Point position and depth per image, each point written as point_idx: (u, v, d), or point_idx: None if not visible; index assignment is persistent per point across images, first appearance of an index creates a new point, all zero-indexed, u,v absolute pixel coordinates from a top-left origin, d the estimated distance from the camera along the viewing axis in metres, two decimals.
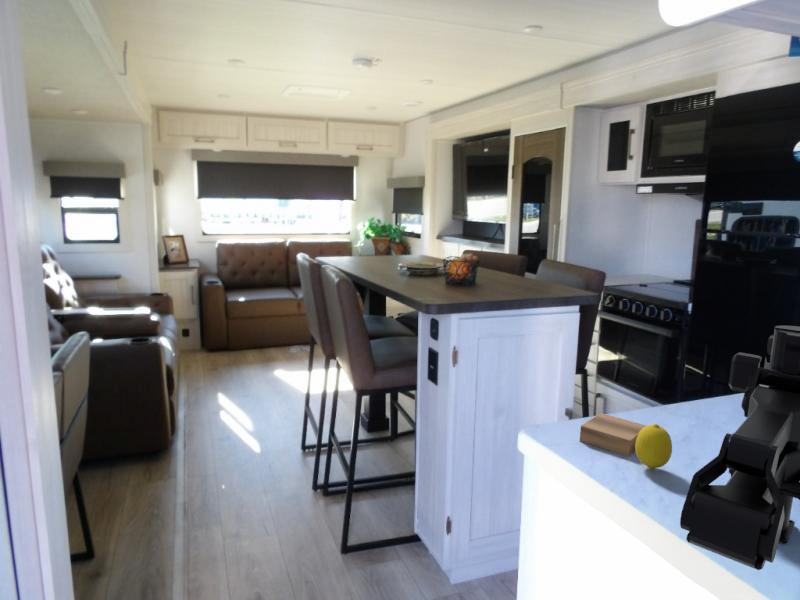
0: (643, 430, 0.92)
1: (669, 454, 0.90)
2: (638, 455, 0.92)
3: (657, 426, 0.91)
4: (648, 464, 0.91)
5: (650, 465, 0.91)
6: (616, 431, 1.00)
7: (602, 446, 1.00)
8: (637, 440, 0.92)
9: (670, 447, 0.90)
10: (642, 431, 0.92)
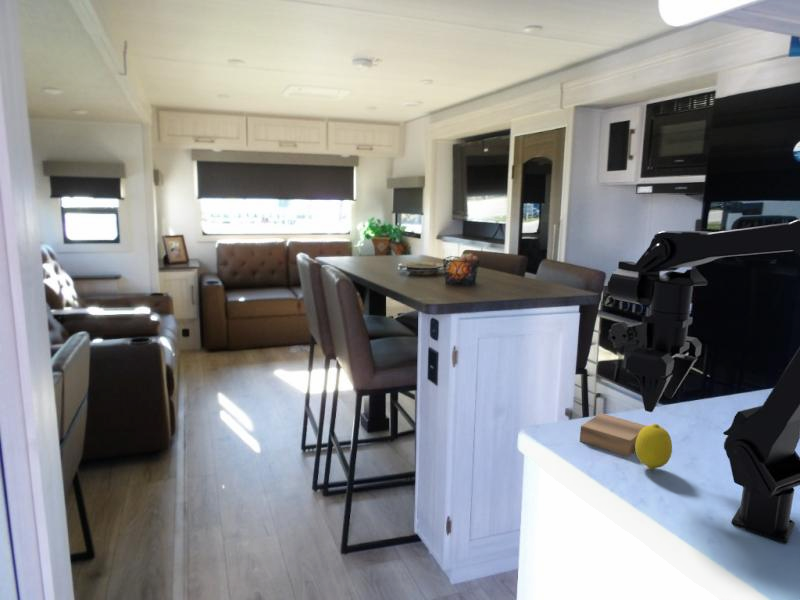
0: (643, 430, 0.92)
1: (669, 454, 0.90)
2: (638, 455, 0.92)
3: (657, 426, 0.91)
4: (648, 464, 0.91)
5: (650, 465, 0.91)
6: (616, 431, 1.00)
7: (602, 446, 1.00)
8: (637, 440, 0.92)
9: (670, 447, 0.90)
10: (642, 431, 0.92)
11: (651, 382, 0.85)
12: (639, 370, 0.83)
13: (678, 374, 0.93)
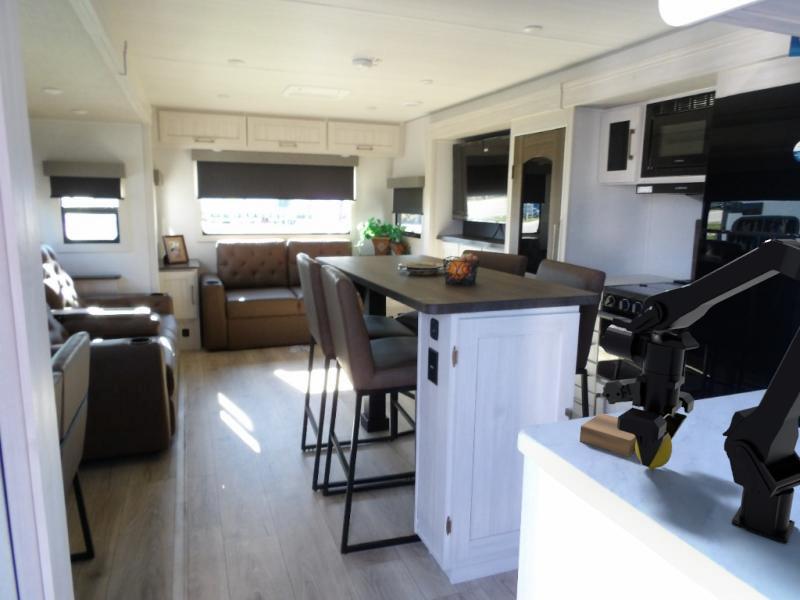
0: None
1: (669, 454, 0.90)
2: (638, 455, 0.92)
3: None
4: None
5: (650, 465, 0.91)
6: (616, 431, 1.00)
7: (602, 446, 1.00)
8: None
9: (670, 447, 0.90)
10: None
11: (648, 439, 0.88)
12: (632, 432, 0.85)
13: (668, 433, 0.93)
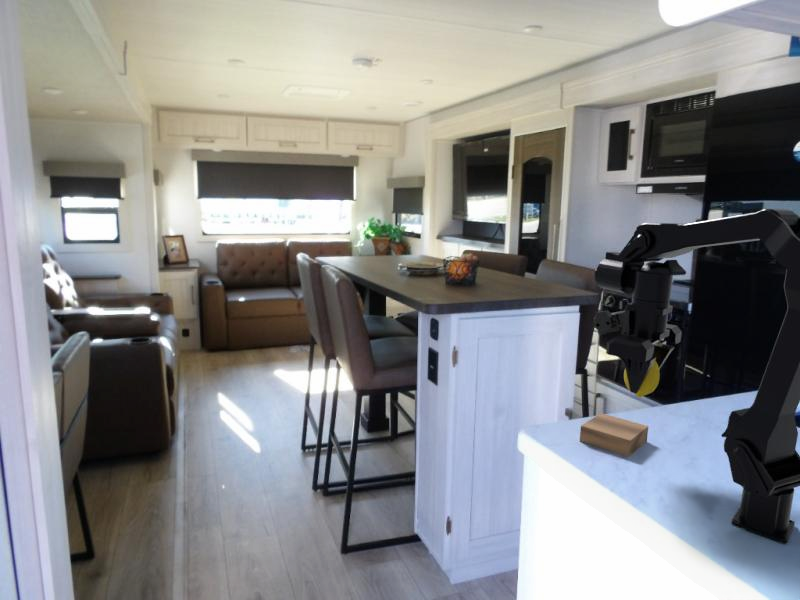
0: None
1: (656, 381, 0.93)
2: (626, 383, 0.95)
3: None
4: None
5: (638, 392, 0.93)
6: (616, 431, 1.00)
7: (602, 446, 1.00)
8: None
9: (657, 374, 0.93)
10: None
11: (636, 365, 0.91)
12: (621, 355, 0.87)
13: None
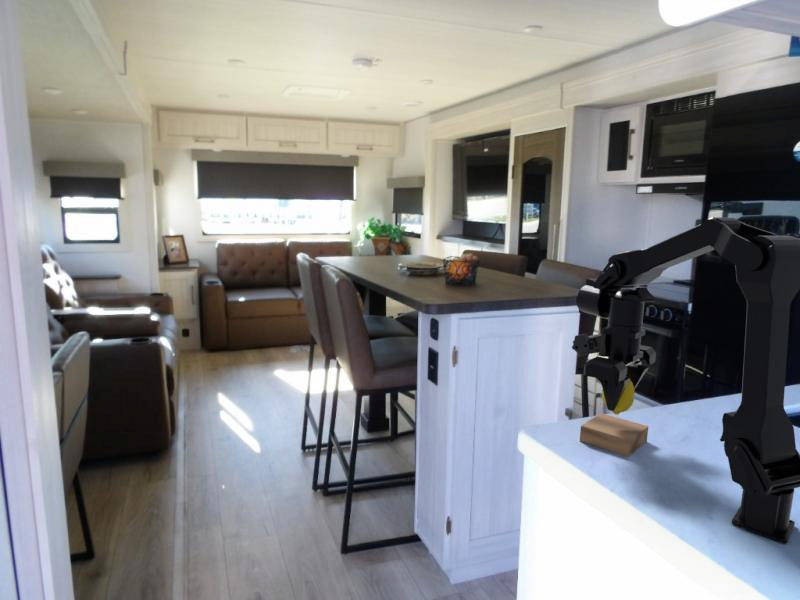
0: None
1: (631, 399, 1.00)
2: (604, 401, 1.02)
3: None
4: None
5: (615, 409, 1.00)
6: (616, 431, 1.00)
7: (602, 446, 1.00)
8: None
9: (632, 393, 1.00)
10: None
11: (612, 385, 0.98)
12: (596, 376, 0.94)
13: (632, 382, 1.03)
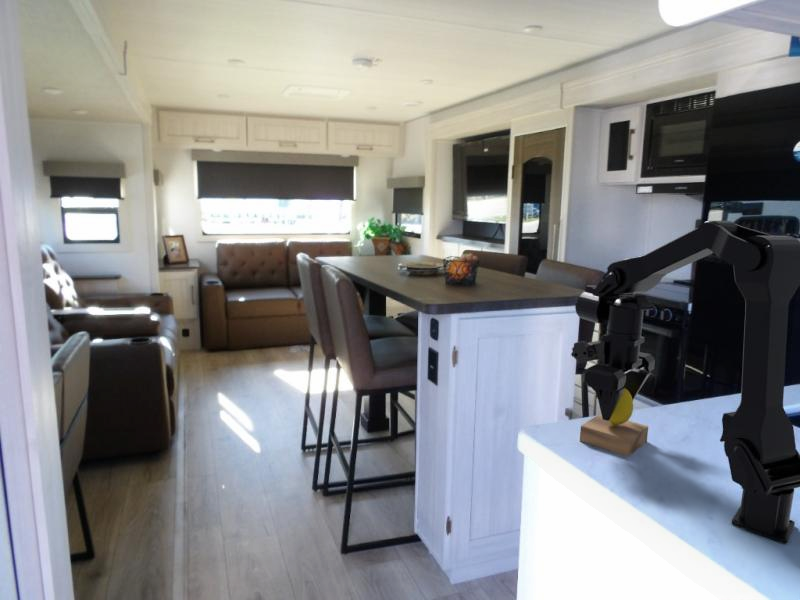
0: None
1: (630, 411, 1.00)
2: None
3: None
4: (611, 421, 1.01)
5: (613, 421, 1.01)
6: (616, 431, 1.00)
7: (602, 446, 1.00)
8: None
9: (631, 405, 1.00)
10: None
11: (607, 394, 0.97)
12: (595, 384, 0.95)
13: (634, 387, 1.04)
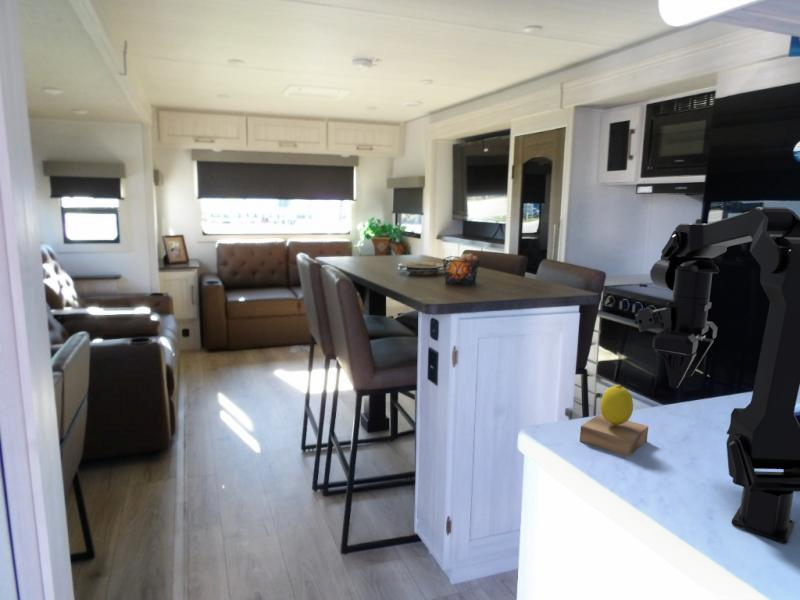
0: (607, 390, 1.02)
1: (630, 411, 1.00)
2: (603, 413, 1.02)
3: (619, 386, 1.01)
4: (611, 421, 1.01)
5: (613, 421, 1.01)
6: (616, 431, 1.00)
7: (602, 446, 1.00)
8: (602, 400, 1.02)
9: (631, 405, 1.00)
10: (606, 391, 1.02)
11: (677, 361, 0.94)
12: (667, 349, 0.92)
13: (697, 355, 1.02)
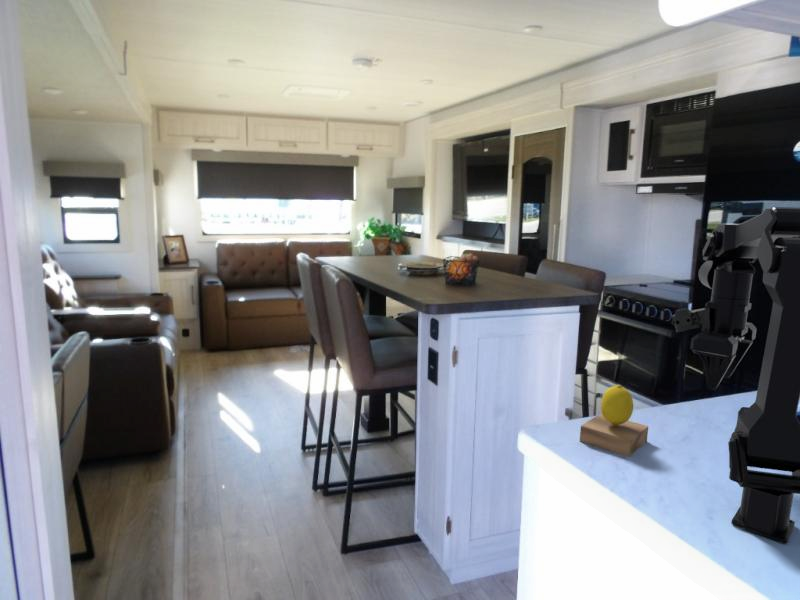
0: (607, 390, 1.02)
1: (630, 411, 1.00)
2: (603, 413, 1.02)
3: (620, 386, 1.01)
4: (612, 421, 1.01)
5: (613, 421, 1.01)
6: (616, 431, 1.00)
7: (602, 446, 1.00)
8: (602, 399, 1.02)
9: (631, 405, 1.00)
10: (606, 391, 1.02)
11: (715, 362, 0.94)
12: (706, 350, 0.91)
13: (736, 356, 1.01)
